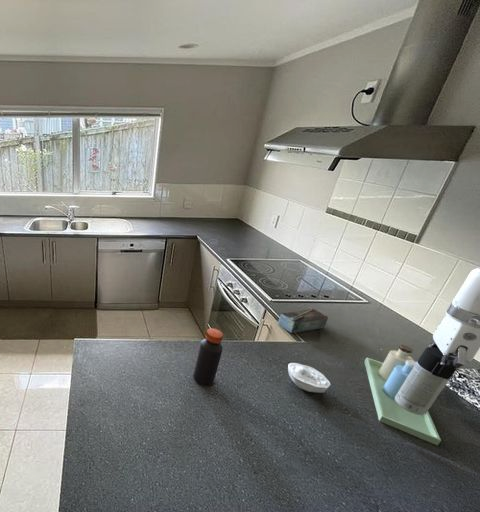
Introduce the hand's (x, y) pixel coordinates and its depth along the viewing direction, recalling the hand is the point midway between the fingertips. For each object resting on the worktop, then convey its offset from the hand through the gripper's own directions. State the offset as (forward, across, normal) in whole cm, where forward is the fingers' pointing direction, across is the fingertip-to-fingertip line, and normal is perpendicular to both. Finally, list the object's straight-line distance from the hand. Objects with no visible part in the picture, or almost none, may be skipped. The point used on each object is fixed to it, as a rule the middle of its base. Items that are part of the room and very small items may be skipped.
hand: (435, 367), depth 78 cm
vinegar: (+21, -22, +54) cm, 62 cm away
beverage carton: (+21, +38, +27) cm, 51 cm away
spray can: (+15, 0, 0) cm, 15 cm away
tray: (+21, +10, 0) cm, 23 cm away
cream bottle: (+20, +20, 0) cm, 28 cm away
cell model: (+21, -4, +25) cm, 33 cm away
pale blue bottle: (+20, +10, 0) cm, 23 cm away
